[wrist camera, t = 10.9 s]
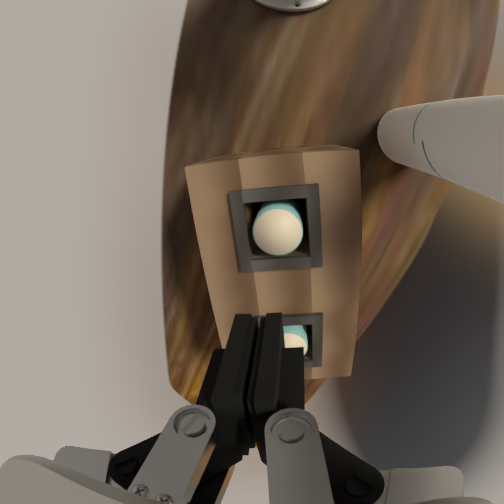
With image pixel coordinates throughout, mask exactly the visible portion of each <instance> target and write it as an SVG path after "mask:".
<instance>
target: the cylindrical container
mask: <svg viewBox="0 0 504 504" xmlns="http://www.w3.org/2000/svg"><path fill="white" fill-rule="evenodd" d="M377 137H378V142H379V145H380V147H381V149H382V151H383V152H384V154H385V155H386V156H387V157H388V158H389V159H391V160H392V161H394V162H396V163H399V164H402V165H405V166H408V167H411V168H414V169H417V170H420V171H423V172H426V173H429V174H431V175H434V176H437V177H440V178H442V179H445V180H448V181H450V182H453V183H455V184H458V185H460V186H463V187H465V188H468V189H470V190H472V191H475V192H477V193H479V194H481V195H484V196H486V197H488V198H490V199H492V200H495V201H497V202H499V203H501V204H503V205H504V95H495V96H481V97H470V98H461V99H452V100H445V101H437V102H431V103H424V104H418V105H412V106H407V107H401V108H396V109H392V110H390V111H388V112H387V113H385V114H384V116H383V117H382V118H381V120H380V122H379V125H378V129H377Z"/></svg>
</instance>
